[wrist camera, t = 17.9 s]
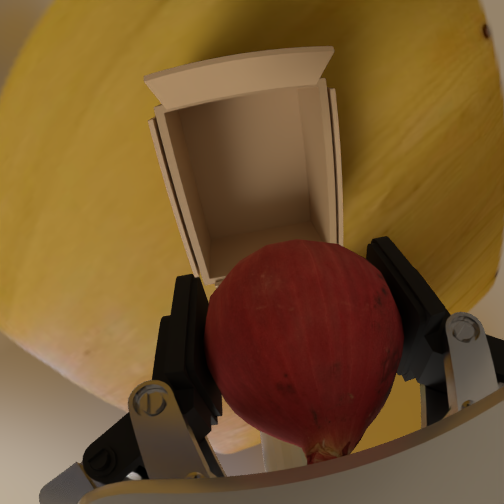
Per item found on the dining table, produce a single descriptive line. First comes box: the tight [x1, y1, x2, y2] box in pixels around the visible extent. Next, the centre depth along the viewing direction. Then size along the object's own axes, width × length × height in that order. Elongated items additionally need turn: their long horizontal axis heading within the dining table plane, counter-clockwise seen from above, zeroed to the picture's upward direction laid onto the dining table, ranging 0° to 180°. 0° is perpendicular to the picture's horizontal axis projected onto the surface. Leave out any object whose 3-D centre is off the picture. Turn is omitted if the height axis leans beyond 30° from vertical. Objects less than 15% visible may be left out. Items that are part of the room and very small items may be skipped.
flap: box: [144, 46, 335, 110], centre depth 13 cm, size 4×8×1 cm
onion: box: [203, 239, 404, 465], centre depth 8 cm, size 6×6×8 cm
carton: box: [148, 78, 343, 285], centre depth 21 cm, size 13×11×6 cm
